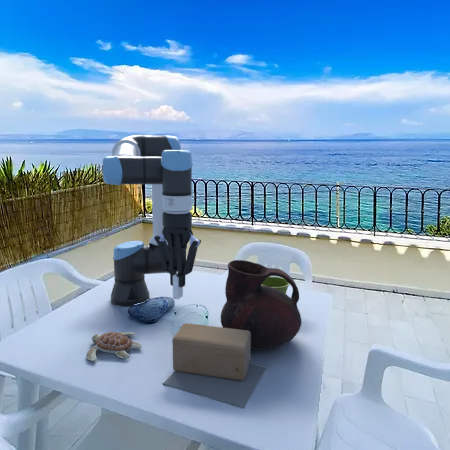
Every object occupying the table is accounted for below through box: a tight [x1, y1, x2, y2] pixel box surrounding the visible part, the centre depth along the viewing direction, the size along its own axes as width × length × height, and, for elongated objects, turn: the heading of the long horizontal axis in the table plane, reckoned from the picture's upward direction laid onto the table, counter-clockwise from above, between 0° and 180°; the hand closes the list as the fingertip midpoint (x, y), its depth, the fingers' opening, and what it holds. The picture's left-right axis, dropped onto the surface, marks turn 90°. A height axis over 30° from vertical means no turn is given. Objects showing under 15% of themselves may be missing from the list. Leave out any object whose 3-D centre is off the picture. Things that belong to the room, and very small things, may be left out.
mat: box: [162, 363, 267, 409], centre depth 98 cm, size 18×22×1 cm
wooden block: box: [172, 322, 252, 381], centre depth 101 cm, size 10×10×20 cm
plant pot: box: [261, 276, 290, 295], centre depth 140 cm, size 12×12×11 cm
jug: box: [220, 259, 302, 350], centre depth 115 cm, size 25×25×25 cm
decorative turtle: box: [85, 331, 143, 362], centre depth 112 cm, size 18×17×5 cm
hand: (177, 297), depth 100 cm, fingers closed
